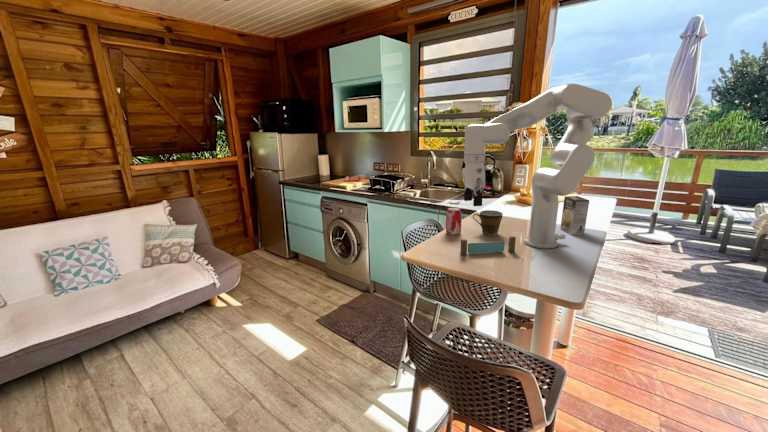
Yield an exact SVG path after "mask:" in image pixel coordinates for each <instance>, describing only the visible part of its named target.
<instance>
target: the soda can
mask: <svg viewBox="0 0 768 432" xmlns="http://www.w3.org/2000/svg"><path fill="white" fill-rule="evenodd" d="M445 213H446V214H445V218H446V219H445V232H446V233H447V234H448V235H451V236H457V235H459V234H460V233H461V231H462V210H461V208H459V207H454V206H452V207H448V208H447V210H446V212H445Z"/></svg>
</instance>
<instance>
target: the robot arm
mask: <svg viewBox="0 0 768 432" xmlns="http://www.w3.org/2000/svg"><path fill="white" fill-rule="evenodd" d="M612 106H613V100H612V97H610V95H609V94H608V93H606V92H604V91H601V90H598V89H594V88H592V87H589V86H586V85H582V84H578V83H569V84H563V85H560V86H559V85H558V86H556V87H552V88H551V89H550V88H549V89H548V90H546V91H544V92H543V93H542V94H539V95H538V96H536V97H534V98H533V99H530V100H529V101H527V102H525V103H524V104H522V105H519V106H517V107H515V108H513V109H511V110H509V111H507V112H505V113H504V114H500V115H499V116H497V117H495V118H494V119H491V120H490V121H488V122H486V123H484V124H469V125H468V124H467V126H466V127H465V128H464V151H463V152H464V155H463V163H464V164H465V166H464V174H463V175H464V177H463V183H464V184H463V186H464V188H463V193H464V195H463V200H464V201H465V202H470V201H473V202H472V203H473V206H474V207H482V206H483V196H484V191H485V190H484V189H486V167H485V163H486V148H487V147H486V145H502V144H504V143H506V142H507V141H508V140H509V138H510V137H511V132H513V131H516V130H521V129H525V128H529V127H532V126H534V125H536V124H538V123H539V122H541V121H543V120H545V119H547V118H549V117H550V116H552V115H553V114H556V113H557V112H560V111H565V115H566V116H565V117H566V120H567V129H566V131H565V133H564V134H563V136H562V137H561V139H560V141H559V142H558V143H557V145H556V146H555V148H554V149H553V151H552V153H551V154H550V158H549V159H550V160H549V161H550V162H551V165H553V166H555V167H556V168H554V167H541V168H538V169H537V170H536V171H534V173H533V175H532V178H531V189H532V190H531V191H532V196H531V199H532V200H531V210H530V219H529V229H528V230H529V231H528V236H527V237H525V238H524V239H523V242H524V244H526V245H527V246H530V247H533V248H537V249H543V250H544V249H549V250H550V249H555V248H557V247H558V246H559V242H558V241H559V240H565V239H566V235H565V234H559V233H556V226H557V219H558V218H557V217H558V211H559V210H558V209H559V197H560V196H562V197H566V196H568V195H570V194H571V193H573V192H574V191H575V190H576V189H577V187H578V186H579V185H580V183H581V182H582V180H583V179H584V178H585V176H586V175H587V173H588V172H589V170H590V169H591V168H592V166H593V164H594V161H595V157H596V156H595V155H596V154H595V150H594V149H593V147H592V146H590V145H588V142H589V140H590V138H591V136H592V133H593V132H592V131H593V129H592V123H591V119H599V118H602V117H604V116H606V115H607V114H608V113H610V111H611V109H612ZM559 168H560V169H559ZM473 193H474V195H473Z"/></svg>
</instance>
